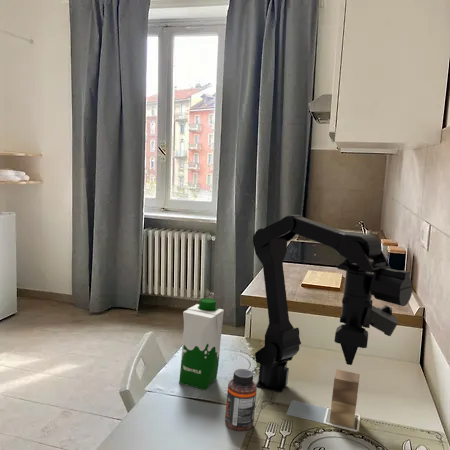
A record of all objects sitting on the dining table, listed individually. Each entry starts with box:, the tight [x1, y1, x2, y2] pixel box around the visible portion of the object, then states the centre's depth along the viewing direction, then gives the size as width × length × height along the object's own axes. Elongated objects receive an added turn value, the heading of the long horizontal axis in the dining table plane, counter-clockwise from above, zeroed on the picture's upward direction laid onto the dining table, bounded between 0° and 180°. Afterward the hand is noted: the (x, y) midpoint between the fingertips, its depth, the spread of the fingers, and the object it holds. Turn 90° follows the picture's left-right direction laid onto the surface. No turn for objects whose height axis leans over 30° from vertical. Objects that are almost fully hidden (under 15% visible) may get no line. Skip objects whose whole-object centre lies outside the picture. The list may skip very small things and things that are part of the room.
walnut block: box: [331, 369, 361, 407], centre depth 99 cm, size 5×5×5 cm
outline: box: [322, 407, 361, 433], centre depth 100 cm, size 7×7×1 cm
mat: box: [285, 399, 357, 430], centre depth 101 cm, size 14×7×1 cm, turn 71°
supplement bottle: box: [224, 368, 258, 432], centre depth 94 cm, size 6×6×11 cm
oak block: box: [329, 400, 358, 428], centre depth 100 cm, size 5×5×5 cm
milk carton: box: [178, 297, 225, 391], centre depth 112 cm, size 9×9×20 cm
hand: (349, 364), depth 99 cm, fingers closed
